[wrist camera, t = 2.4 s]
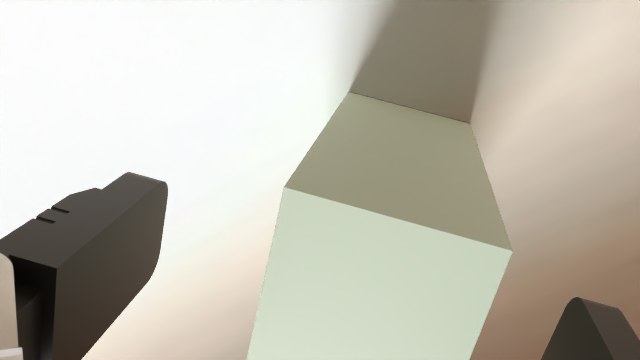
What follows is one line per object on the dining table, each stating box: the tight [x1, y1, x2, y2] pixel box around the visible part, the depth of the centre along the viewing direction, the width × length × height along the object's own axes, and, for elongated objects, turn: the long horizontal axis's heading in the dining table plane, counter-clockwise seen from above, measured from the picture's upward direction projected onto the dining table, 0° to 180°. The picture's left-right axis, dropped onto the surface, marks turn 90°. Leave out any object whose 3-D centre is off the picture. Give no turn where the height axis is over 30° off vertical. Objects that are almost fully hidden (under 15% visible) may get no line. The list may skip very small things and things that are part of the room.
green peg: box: [247, 92, 513, 360], centre depth 14 cm, size 4×4×9 cm
